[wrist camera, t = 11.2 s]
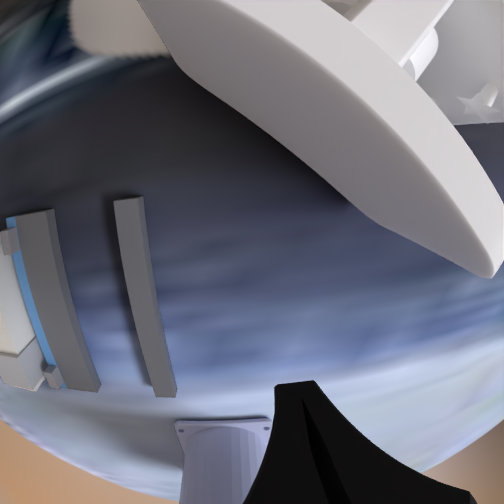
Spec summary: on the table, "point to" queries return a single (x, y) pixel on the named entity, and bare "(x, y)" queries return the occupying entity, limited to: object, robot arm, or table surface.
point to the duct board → (61, 304)
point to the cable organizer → (365, 101)
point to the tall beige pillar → (17, 333)
